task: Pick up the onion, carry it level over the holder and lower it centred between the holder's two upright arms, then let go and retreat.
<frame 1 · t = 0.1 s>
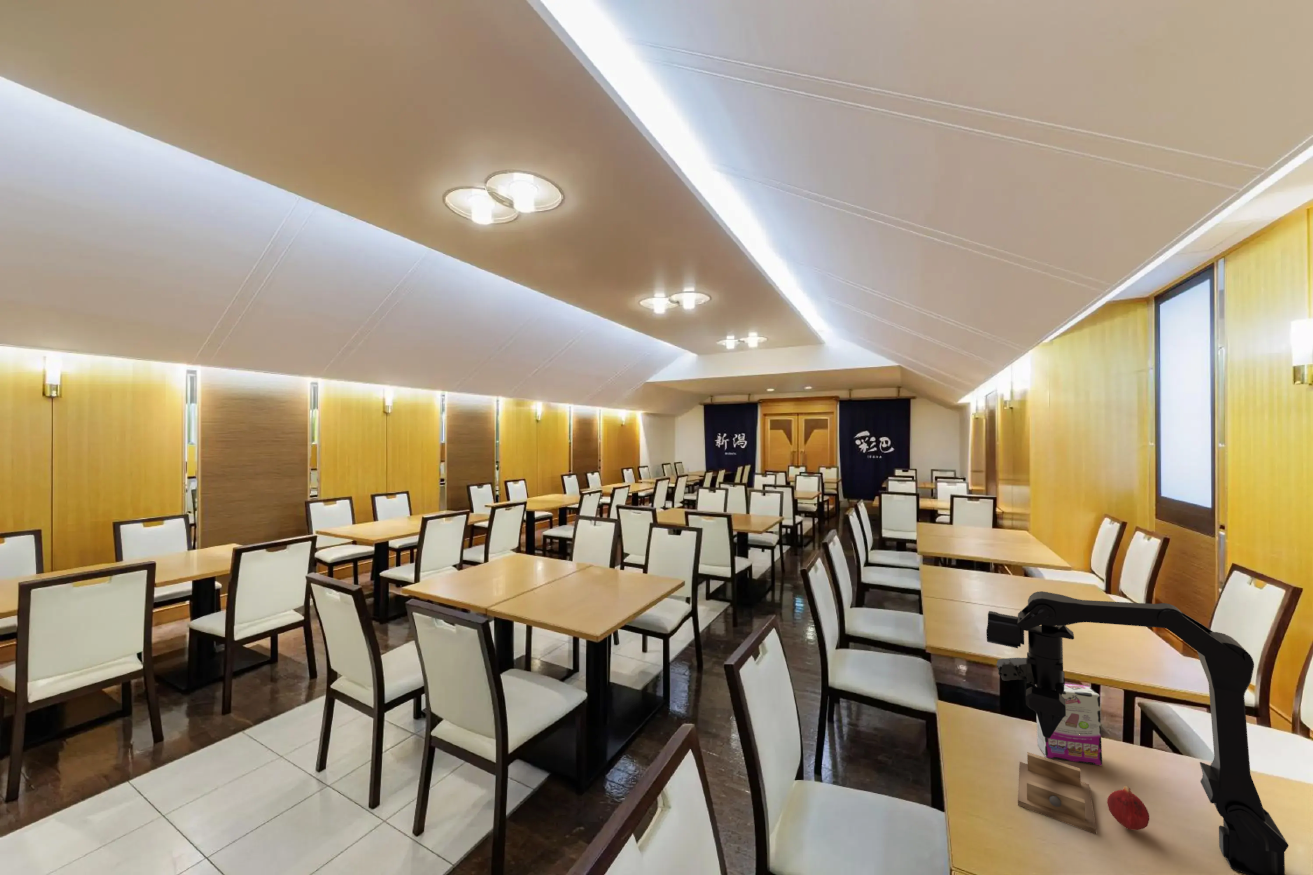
hand: (1046, 726, 101), 15 cm above the table, fingers open, 9 cm apart
holder: (1054, 796, 101), on the table
candy bar box: (1068, 756, 114), on the table
onion: (1128, 829, 92), on the table
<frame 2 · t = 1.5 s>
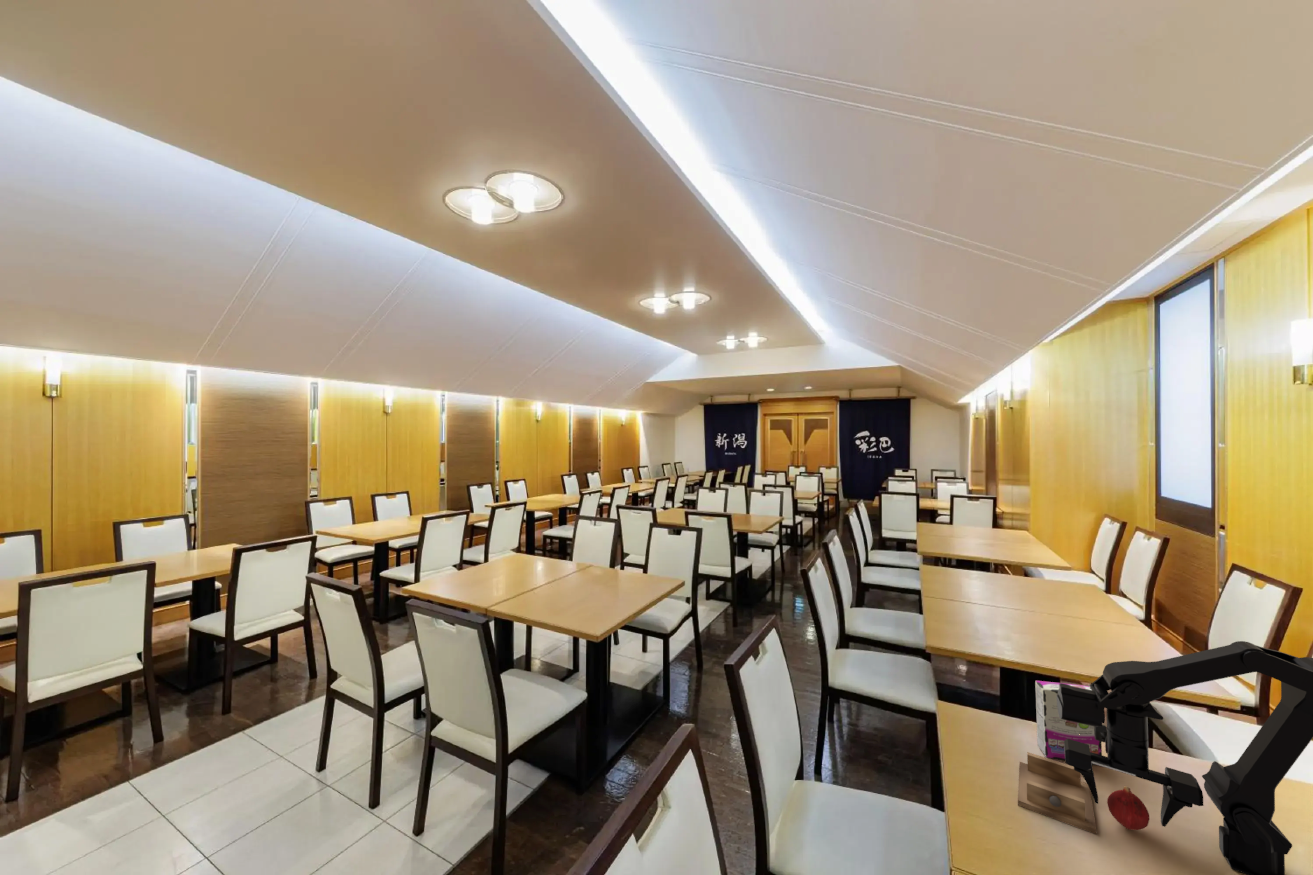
hand: (1128, 813, 92), 3 cm above the table, fingers open, 9 cm apart
nothing on the table moved.
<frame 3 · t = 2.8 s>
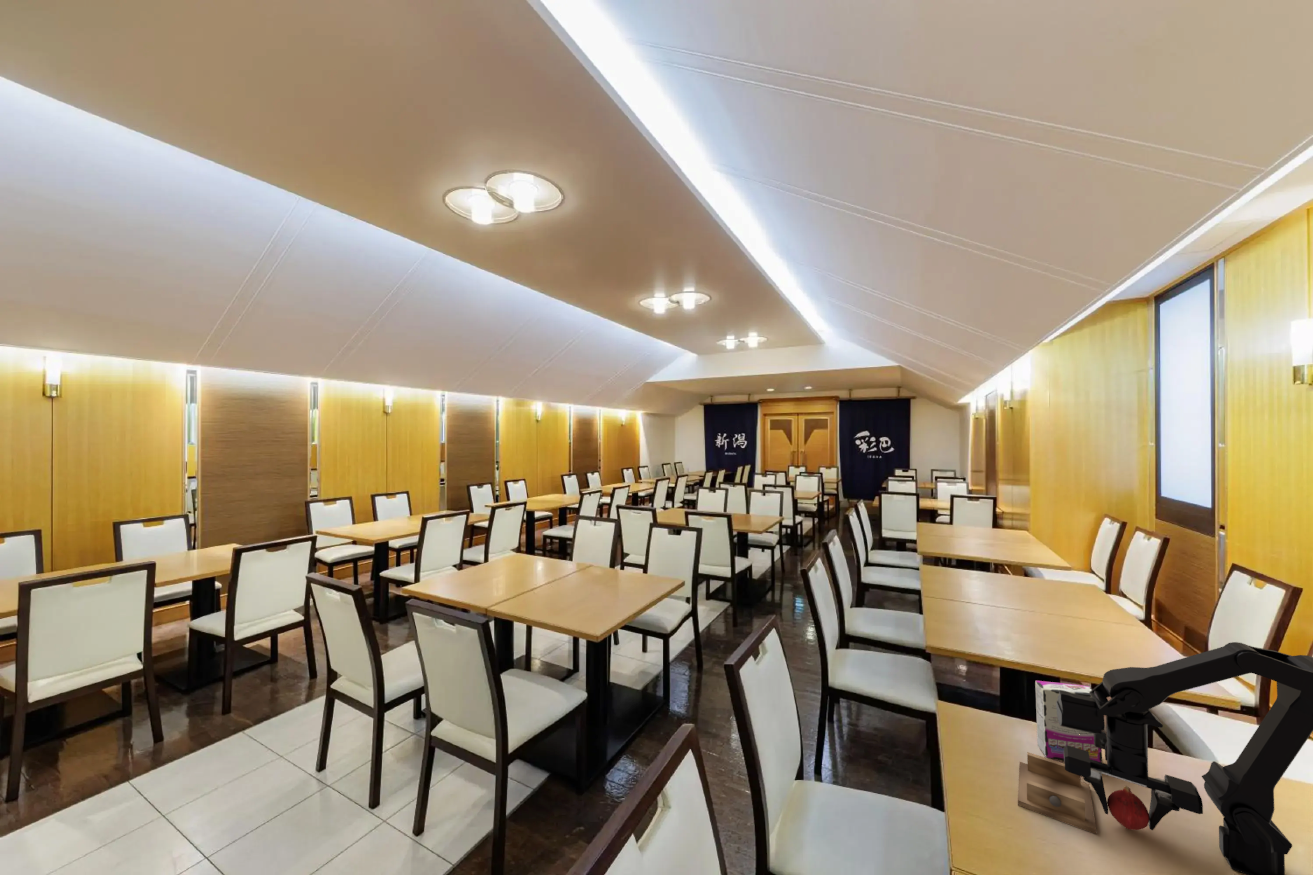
hand: (1128, 820, 92), 2 cm above the table, fingers closed on onion, 6 cm apart
onion: (1128, 829, 92), on the table, touching gripper
everything else where it was.
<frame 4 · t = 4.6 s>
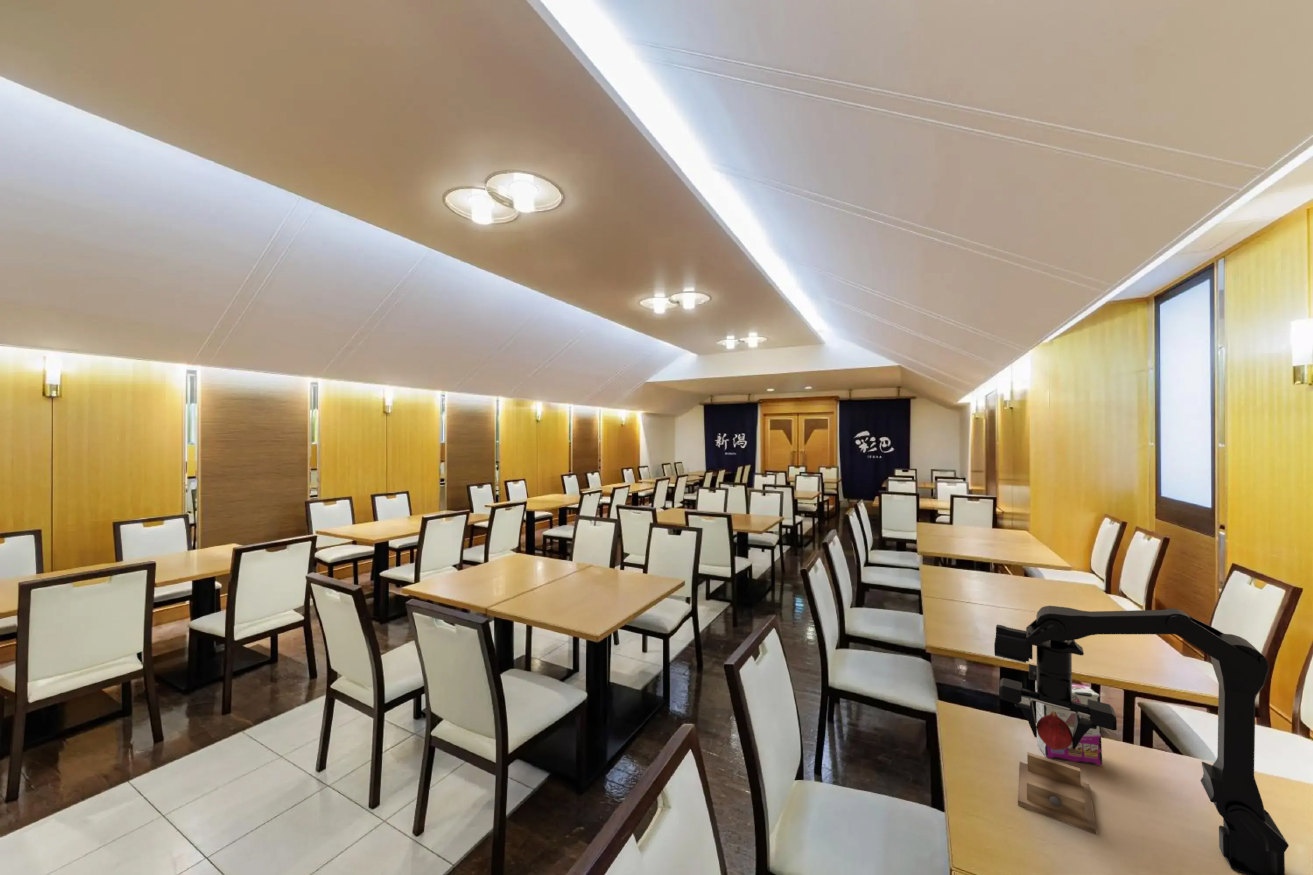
hand: (1054, 742, 101), 12 cm above the table, fingers closed on onion, 6 cm apart
onion: (1054, 750, 101), point 10 cm above the table, touching gripper
everything else where it was.
when the fingers open (5 cm above the table, at t = 6.7 s): onion drops 2 cm, resting on holder.
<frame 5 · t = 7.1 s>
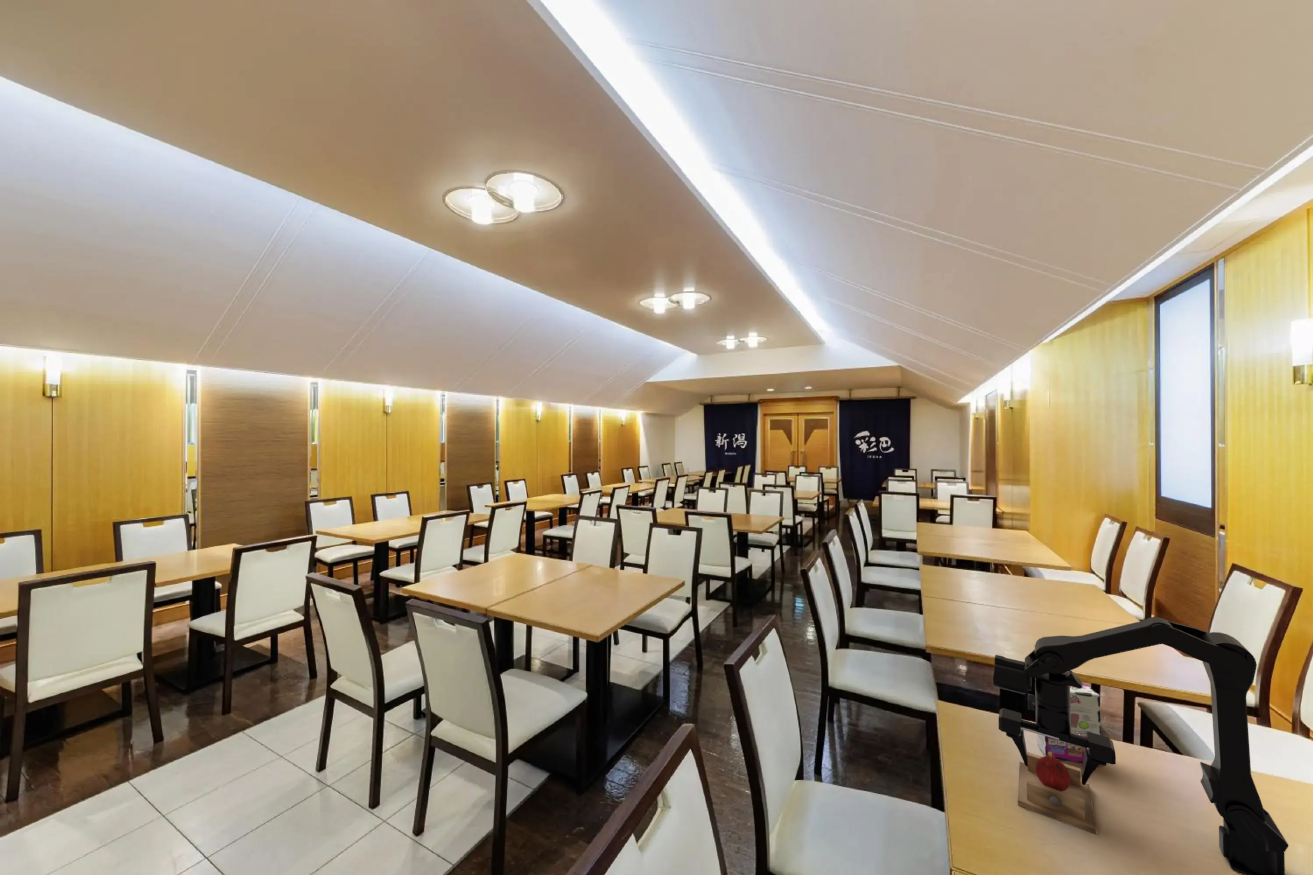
hand: (1054, 774, 101), 5 cm above the table, fingers open, 9 cm apart
onion: (1054, 792, 101), point 1 cm above the table, touching holder
everything else where it was.
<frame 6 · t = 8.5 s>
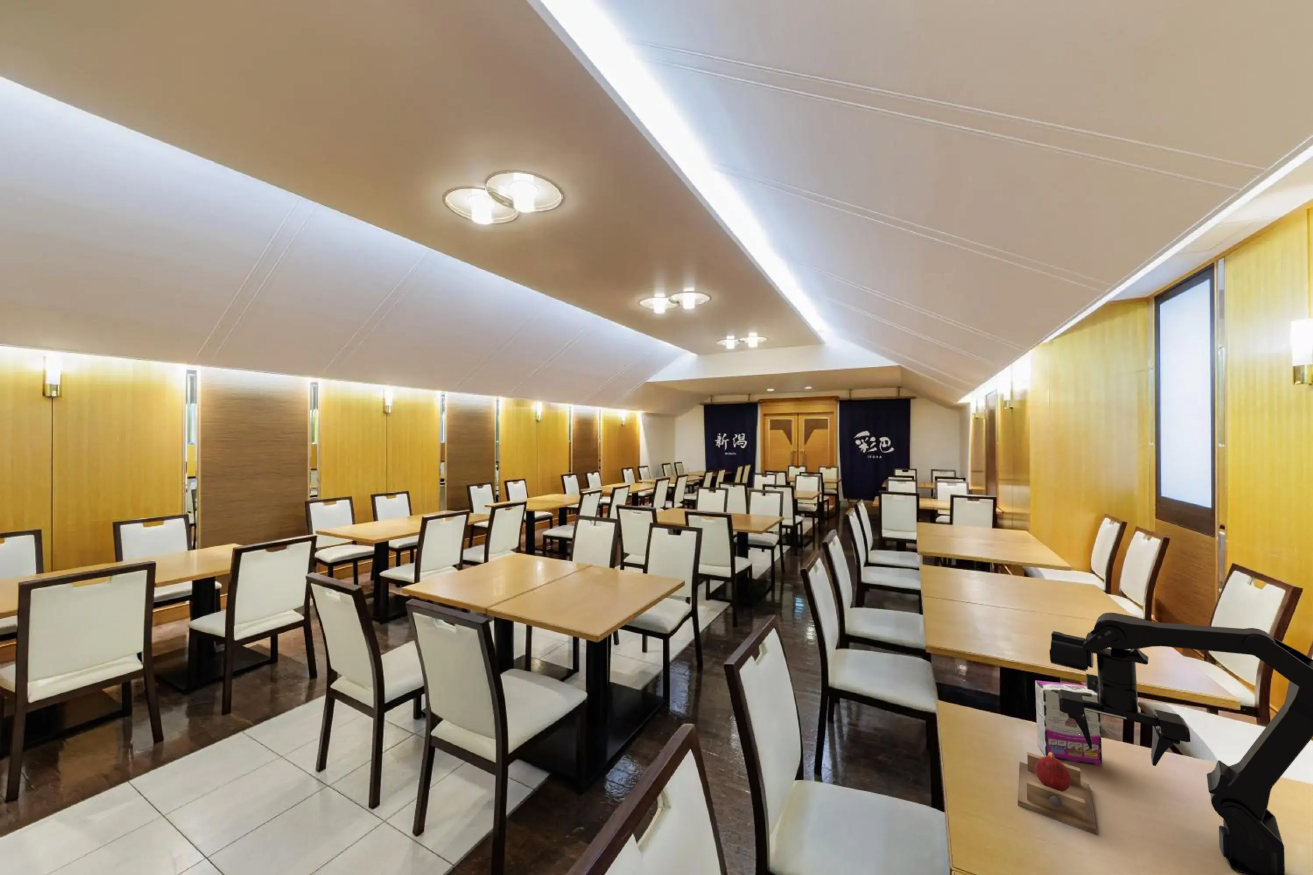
hand: (1121, 756, 96), 12 cm above the table, fingers open, 9 cm apart
nothing on the table moved.
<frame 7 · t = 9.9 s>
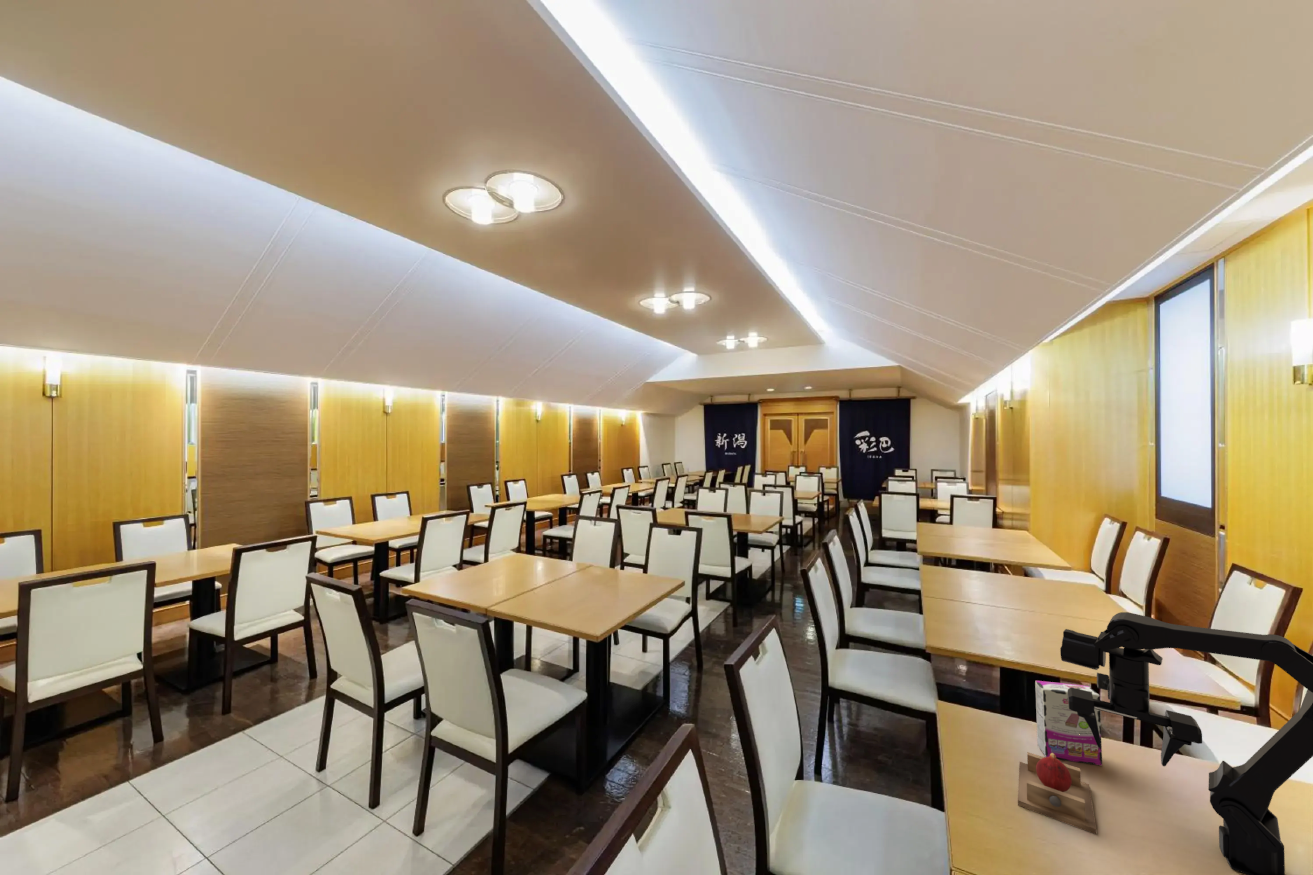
hand: (1130, 755, 96), 12 cm above the table, fingers open, 9 cm apart
nothing on the table moved.
at the end: onion inside the target area on the holder (0.1 cm from its centre), point 0.8 cm above the holder's base; the gripper is holding nothing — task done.
